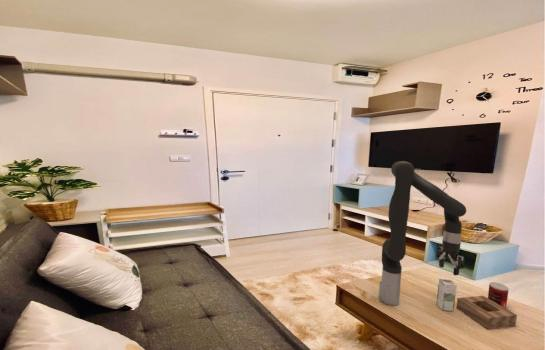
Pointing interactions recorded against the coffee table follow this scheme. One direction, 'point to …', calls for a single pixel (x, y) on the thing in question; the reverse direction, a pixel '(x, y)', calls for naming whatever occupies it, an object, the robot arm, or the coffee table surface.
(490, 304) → the hollow square frame
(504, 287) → the canned food
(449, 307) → the syrup box
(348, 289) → the coffee table surface
